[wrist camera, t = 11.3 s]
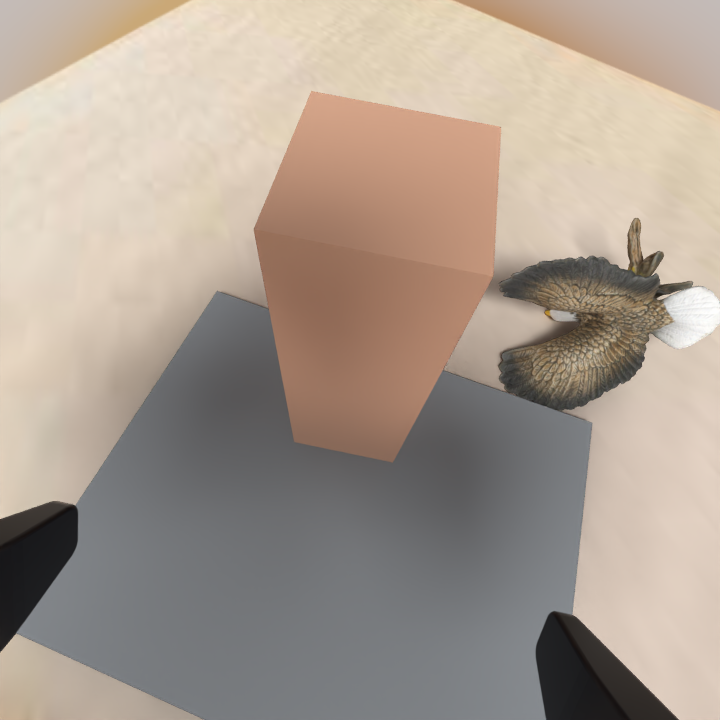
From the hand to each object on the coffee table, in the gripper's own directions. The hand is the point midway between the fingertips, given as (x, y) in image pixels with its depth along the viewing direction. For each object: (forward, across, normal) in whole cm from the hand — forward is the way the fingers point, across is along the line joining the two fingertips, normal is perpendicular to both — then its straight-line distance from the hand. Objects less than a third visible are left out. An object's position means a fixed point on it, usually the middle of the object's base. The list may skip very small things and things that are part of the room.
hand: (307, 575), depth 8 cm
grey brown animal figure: (+17, -11, -2) cm, 21 cm away
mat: (+10, 0, +5) cm, 11 cm away
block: (+12, 0, +2) cm, 13 cm away
